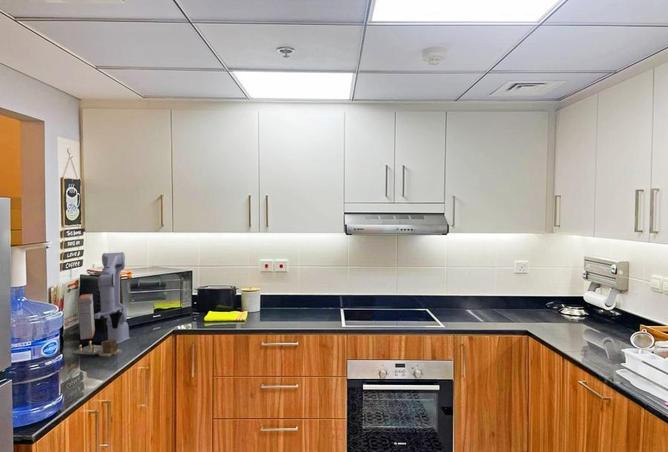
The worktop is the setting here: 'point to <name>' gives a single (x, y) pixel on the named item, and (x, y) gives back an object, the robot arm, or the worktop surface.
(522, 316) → the worktop surface
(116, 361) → the worktop surface
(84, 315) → the cracker box
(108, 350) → the brown boxy piece
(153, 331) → the worktop surface
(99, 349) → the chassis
